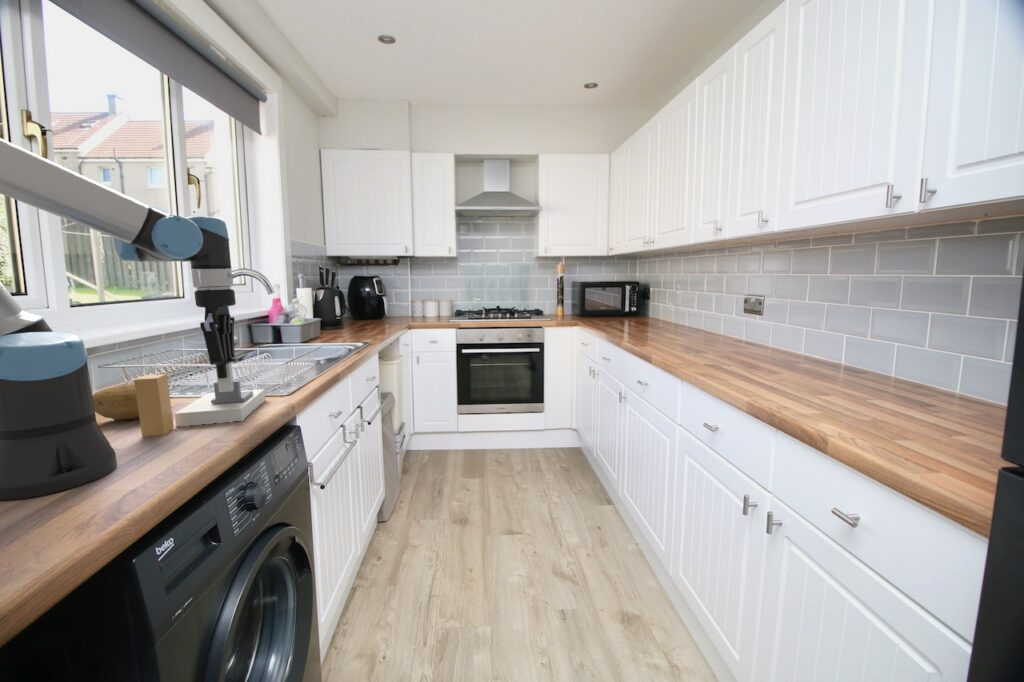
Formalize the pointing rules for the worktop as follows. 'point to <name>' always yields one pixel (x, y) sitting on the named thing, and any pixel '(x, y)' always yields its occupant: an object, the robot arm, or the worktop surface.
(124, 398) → the potato
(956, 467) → the worktop surface
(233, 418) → the socket board
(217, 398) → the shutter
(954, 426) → the worktop surface
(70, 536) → the worktop surface
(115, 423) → the worktop surface
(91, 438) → the robot arm
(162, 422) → the plug
